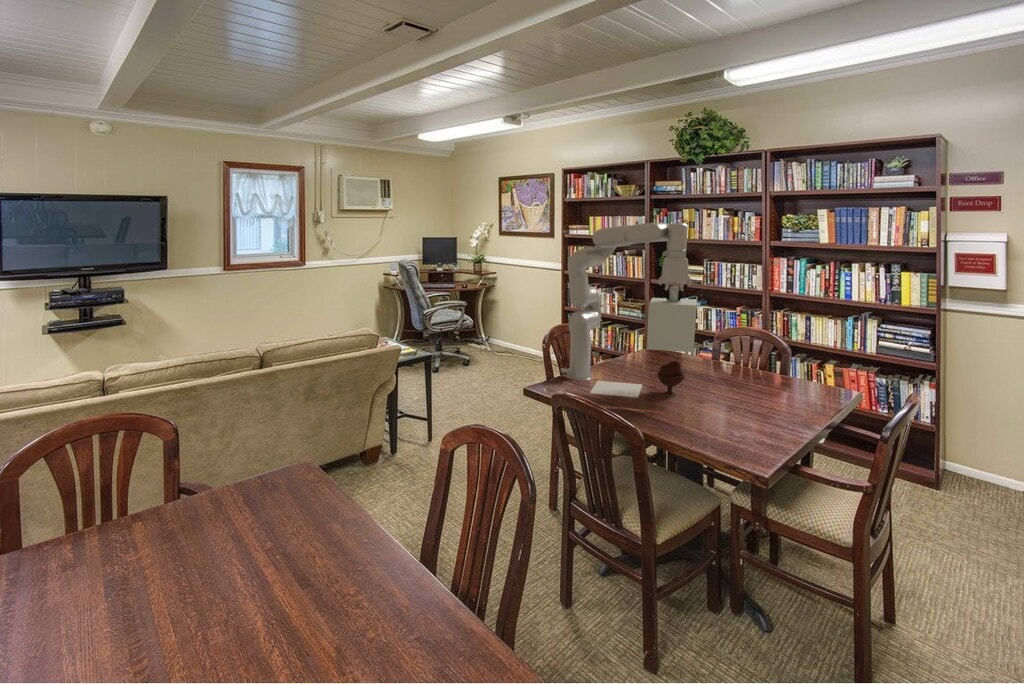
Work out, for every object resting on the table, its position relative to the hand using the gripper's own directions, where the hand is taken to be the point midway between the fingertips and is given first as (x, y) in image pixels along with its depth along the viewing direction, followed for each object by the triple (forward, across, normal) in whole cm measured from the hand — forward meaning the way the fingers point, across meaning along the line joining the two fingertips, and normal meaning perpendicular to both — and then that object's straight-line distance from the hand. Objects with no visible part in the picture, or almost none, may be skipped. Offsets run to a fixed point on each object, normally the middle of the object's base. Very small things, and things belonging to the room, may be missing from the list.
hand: (673, 299), depth 231 cm
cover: (+19, 0, 0) cm, 19 cm away
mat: (+40, -22, 0) cm, 46 cm away
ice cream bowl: (+41, 0, 0) cm, 41 cm away
